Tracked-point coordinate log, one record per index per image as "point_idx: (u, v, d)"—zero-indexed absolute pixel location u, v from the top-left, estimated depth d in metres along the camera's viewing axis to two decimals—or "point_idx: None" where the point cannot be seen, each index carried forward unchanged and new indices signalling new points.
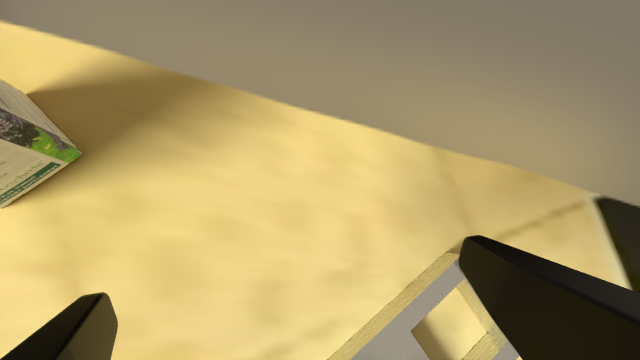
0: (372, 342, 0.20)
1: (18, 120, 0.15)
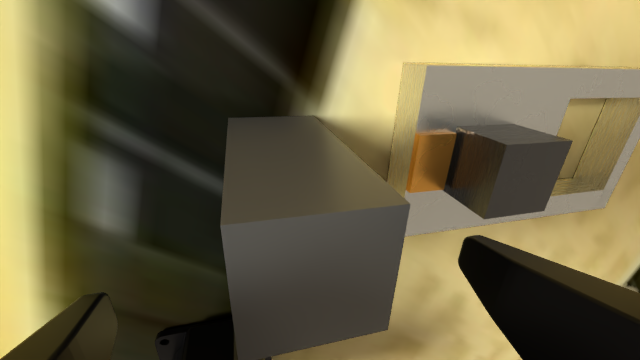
0: (538, 72, 0.14)
1: None
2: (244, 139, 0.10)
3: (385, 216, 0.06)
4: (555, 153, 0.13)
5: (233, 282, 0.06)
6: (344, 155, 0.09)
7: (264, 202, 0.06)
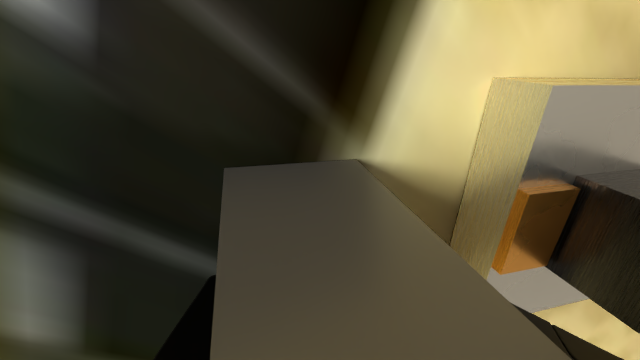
0: None
1: None
2: (253, 237, 0.05)
3: None
4: None
5: None
6: (477, 297, 0.04)
7: None
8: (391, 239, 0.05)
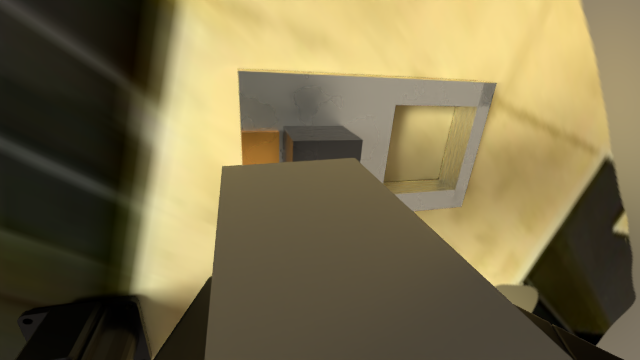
0: (355, 80, 0.16)
1: None
2: (249, 235, 0.05)
3: None
4: (349, 150, 0.14)
5: None
6: (475, 294, 0.04)
7: None
8: (389, 237, 0.05)
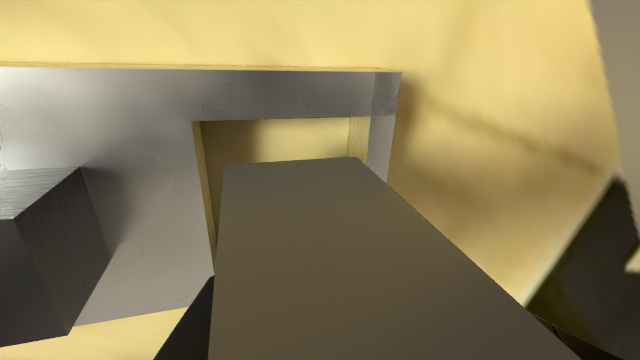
0: (75, 76, 0.08)
1: None
2: (252, 233, 0.05)
3: None
4: None
5: None
6: (479, 292, 0.04)
7: None
8: (392, 235, 0.05)
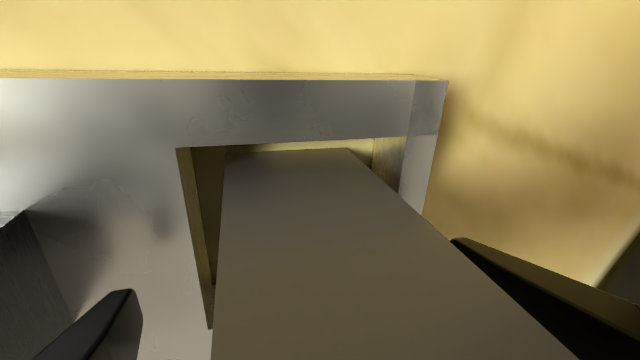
0: (9, 90, 0.06)
1: None
2: (250, 206, 0.06)
3: None
4: None
5: None
6: (437, 250, 0.05)
7: None
8: (371, 209, 0.06)
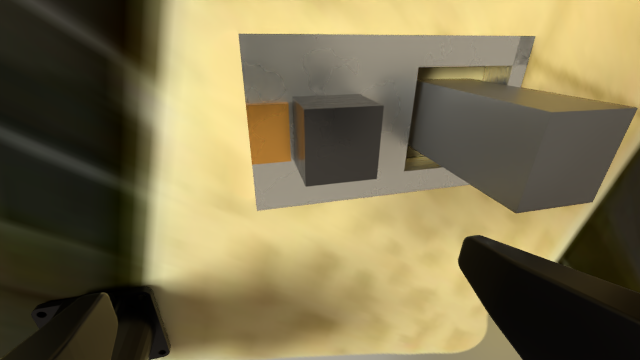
0: (372, 40, 0.14)
1: None
2: (460, 87, 0.15)
3: (623, 114, 0.11)
4: (368, 119, 0.13)
5: (539, 152, 0.11)
6: (546, 93, 0.14)
7: (552, 107, 0.11)
8: (510, 88, 0.15)
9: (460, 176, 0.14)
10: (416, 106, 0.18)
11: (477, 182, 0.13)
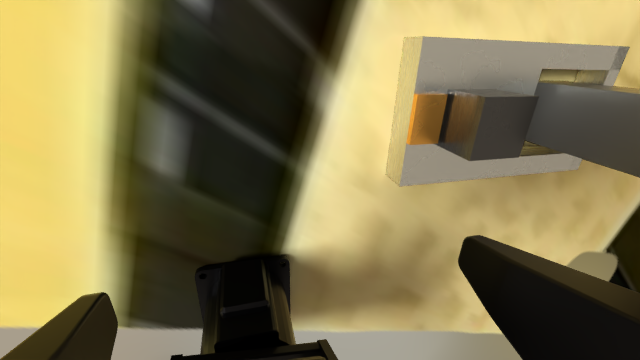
0: (514, 45, 0.18)
1: None
2: (579, 86, 0.18)
3: None
4: (525, 106, 0.16)
5: None
6: None
7: None
8: (618, 87, 0.18)
9: (582, 157, 0.18)
10: None
11: (604, 160, 0.17)
